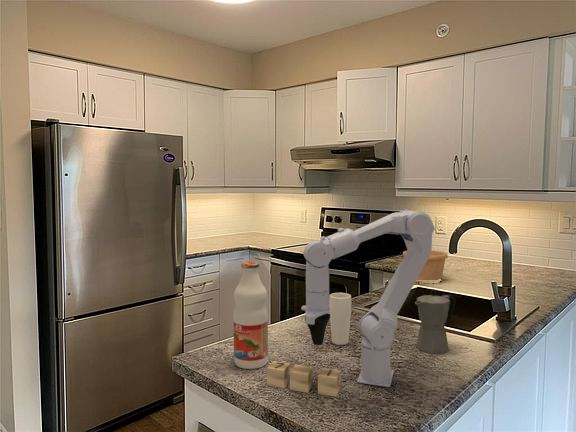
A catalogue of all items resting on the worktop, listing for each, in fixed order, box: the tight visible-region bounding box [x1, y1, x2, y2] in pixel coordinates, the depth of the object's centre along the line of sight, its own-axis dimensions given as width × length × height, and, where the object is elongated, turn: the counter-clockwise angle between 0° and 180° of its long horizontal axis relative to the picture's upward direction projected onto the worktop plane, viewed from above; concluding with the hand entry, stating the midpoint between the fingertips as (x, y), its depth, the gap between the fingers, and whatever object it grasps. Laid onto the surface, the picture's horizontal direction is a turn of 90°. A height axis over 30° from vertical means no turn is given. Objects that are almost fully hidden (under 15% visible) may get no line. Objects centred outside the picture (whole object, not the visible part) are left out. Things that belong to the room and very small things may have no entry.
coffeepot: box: [414, 288, 457, 355], centre depth 130 cm, size 15×9×18 cm, turn 115°
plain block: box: [289, 364, 314, 393], centre depth 106 cm, size 4×4×4 cm
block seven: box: [266, 360, 291, 389], centre depth 108 cm, size 4×4×5 cm
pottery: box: [402, 249, 449, 280], centre depth 222 cm, size 22×22×14 cm
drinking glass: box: [329, 292, 352, 346], centre depth 135 cm, size 7×7×15 cm
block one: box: [317, 367, 342, 397], centre depth 104 cm, size 4×4×5 cm
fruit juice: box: [233, 261, 269, 370], centre depth 119 cm, size 9×9×28 cm
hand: (317, 344), depth 108 cm, fingers closed
